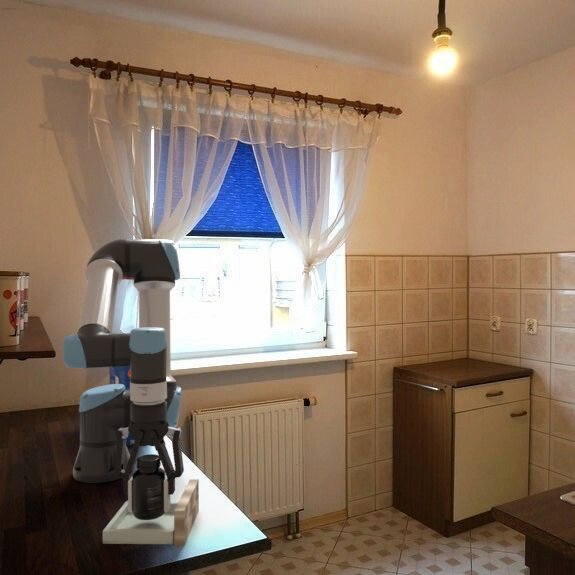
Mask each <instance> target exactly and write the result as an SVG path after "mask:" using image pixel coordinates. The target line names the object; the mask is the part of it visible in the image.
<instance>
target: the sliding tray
mask: <svg viewBox="0 0 575 575" xmlns="http://www.w3.org/2000/svg"><path fill="white" fill-rule="evenodd" d="M178 502H179V501H171V507H170V508H169V510H168V512H165V514H164V515H163V516H161V517H159V518H156V519H153V520H139V519H137V518H135V517H134V515H133V511H132V512H128V500H126V501H125V502H124V503H123V504H122V506H121V507H120V509H119V510H118V511H117V512H116V513H115V515H114V516H113V517H112V518H111V520H110V521H109V522H108V523H107V525H106V526H105V527H104V528H103V530H102V544H104V545H109V544H110V545H174V510H175V508H176V506H177V504H178Z"/></svg>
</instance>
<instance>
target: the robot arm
mask: <svg viewBox="0 0 575 575" xmlns="http://www.w3.org/2000/svg"><path fill="white" fill-rule="evenodd" d="M179 261H180V260H179V255H178V251H177V245H176V243H175V242H174V241H173V240H170V239H160V238H157V239H156V238H155V239H152V238H150V239H149V238H143V239H142V238H138V239H137V238H135V239H134V238H130V239H129V238H120V239H114V240H112V241H109V242H107V243H105V244H103V246H101V247H99V248H98V249H97V250H96V251H95V252H94V253H93V254H92V256H91V257H90V258H89V260H88V262H87V265H86V268H85V277H86V280H87V284H86V288H85V291H84V292H85V293H84V297H83V302H82V308H81V311H80V315H79V316H80V317H79V322H78V326H77V331H76V333H74V334H69V335H66V336H65V337H64V338H63V342H62V360H63V365H64V366H65V367H66V368H69V369H82V370H83V369H84V370H86V369H96V368H97V369H99V368H100V369H101V368H109V367H127V366H130V390H125V386H124V385H123V384H110V383H109V384H105V385H100V386H96V387H93V388H90V389H88V390H87V389H86V391H84V392H83V393H82V394H81V395H80V398H79V406H78V407H79V408H78V413H79V449H78V452H77V455H76V458H75V460H74V465H73V468H72V478H73V479H74V480H75V481H77V482H80V483H84V484H85V483H87V484H98V483H99V484H102V483H107V482H113V481H116V480H119V479H122V482H123V486H122V487H123V489H122V490H123V494H124V495H125V496H127V499H128V500H127V501H128V512H132V511H133V481H132V479H133V473H134V469H135V466H136V465H137V458H139V455H140V453H141V452H140V451H141V449H142V447H147V446H149V447H154V449H155V451H156V452H157V455H159V457H160V462H161V465H162V469H163V470H164V471H165V474H166V478H165V480H164V512H168V510H169V508H170V507H171V502H172V501H171V495H174V493H175V490H176V479H177V478H181V477H182V475H183V473H184V472H185V470H184V469H185V467H184V461H183V452H182V443H181V436H182V432H183V428H182V427H179V426H178V427H177V425H178V422H179V415H180V407H181V399H182V397H181V396H182V387H180V386H177V380H176V379H175V378H174V377H173V375H172V374H171V372H172V370H171V291H172V290H173V288H175V286H176V281H178V280H180V279H181V271H180V270H181V269H180V263H179ZM122 280H132V281H133V286H134V288H135V289H136V290H138V327H137V328H136V327H134V328H133V329H131V330H130V332H127V333H112V332H113V325H114V316H115V310H116V309H115V308H116V302H117V293H118V285H119V284H120V283H121V282H122ZM128 433H130V434H131V436H132V437H133V438H134V440H135V442H134V445H132V450H131V452H130V451H129V449H128V446H126V438H127V437H128ZM167 434H169V438H170V439H171V440H172V441H171V444H172V453H173V454H172V455H173V463H174V466H173V463H172V459H171V458H170V457H171V456H170V455H169V452H168V448H167V446H166V441H165V436H166V435H167Z"/></svg>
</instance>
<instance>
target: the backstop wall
mask: <svg viewBox="0 0 575 575" xmlns="http://www.w3.org/2000/svg"><path fill="white" fill-rule="evenodd" d="M199 483H200V481H199V479H197V478H196V479H189V480H188V482H187V484H186V486H185V489H184V490H183V492H182V493H181V494H182V495H181V497H180V499H179V500H178V501H177V502H178V504H177V506H176V508H175V510H174V543H173V546H174V547H185V545H186V543H187V541H188V538H189V536H190V533H191V531H192V528H193V526H194V523H195V520H196V519H197V516H198V514H199V510H200V508H199V506H200V504H199V502H200V500H199V499H200V498H199V496H200V495H199V493H200V489H199V485H200V484H199Z"/></svg>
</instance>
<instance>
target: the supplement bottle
mask: <svg viewBox="0 0 575 575" xmlns="http://www.w3.org/2000/svg"><path fill="white" fill-rule="evenodd" d="M161 465H162V463H161V460H160V457H159V455H158V454H154V453H153V454H144V455H141V456H138V458H137V461H136V468H137V469H136V470H135V471H134V472H133V473H132V476H133V479H132V481H133V515H134V517H135V518H137V519H139V520H153V519H156V518H159V517H161V516H163V515H164V514H165V512H164V480H165V478H166V477H167V476H166V473H165V471H164V468H163V467H162V466H161Z"/></svg>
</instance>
